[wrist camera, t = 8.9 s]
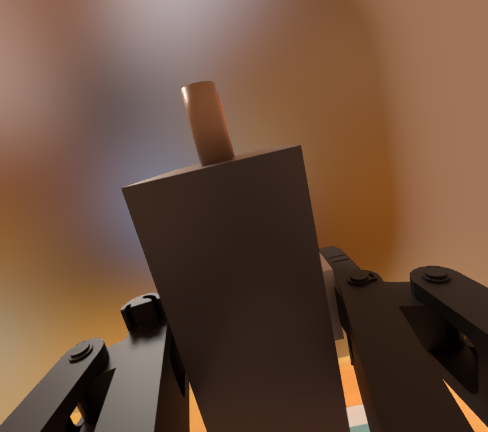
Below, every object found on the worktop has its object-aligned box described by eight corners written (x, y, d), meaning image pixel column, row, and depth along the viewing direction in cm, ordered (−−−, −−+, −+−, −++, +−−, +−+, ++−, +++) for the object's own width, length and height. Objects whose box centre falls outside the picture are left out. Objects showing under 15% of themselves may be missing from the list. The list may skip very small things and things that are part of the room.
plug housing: (245, 539, 9) (87, 91, 5) (243, 382, 14) (167, 121, 11) (365, 518, 8) (282, 40, 5) (314, 368, 14) (260, 98, 11)
